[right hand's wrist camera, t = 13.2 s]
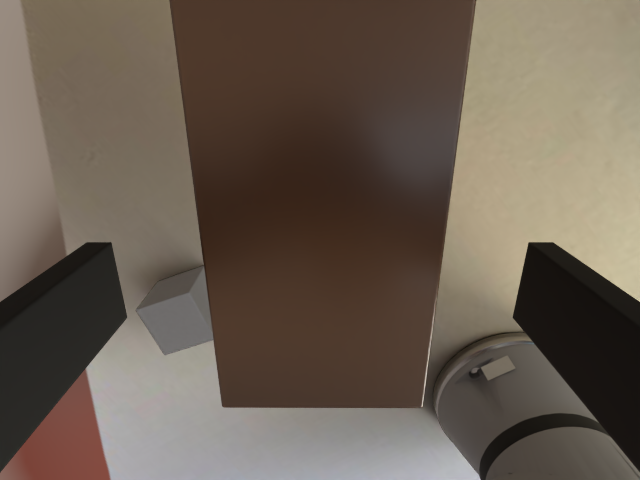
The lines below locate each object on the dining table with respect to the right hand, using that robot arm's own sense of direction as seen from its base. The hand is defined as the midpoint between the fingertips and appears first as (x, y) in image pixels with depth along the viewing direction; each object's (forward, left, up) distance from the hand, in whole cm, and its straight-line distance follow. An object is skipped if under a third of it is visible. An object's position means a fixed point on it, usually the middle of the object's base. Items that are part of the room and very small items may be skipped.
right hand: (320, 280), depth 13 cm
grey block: (+12, +13, -22) cm, 28 cm away
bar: (0, -10, -4) cm, 11 cm away
